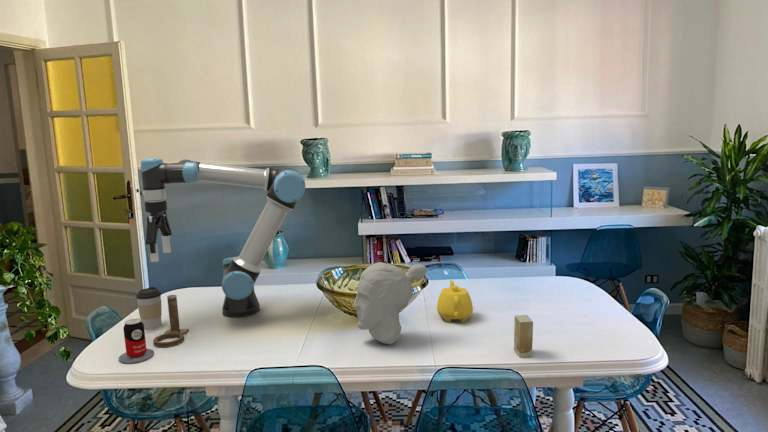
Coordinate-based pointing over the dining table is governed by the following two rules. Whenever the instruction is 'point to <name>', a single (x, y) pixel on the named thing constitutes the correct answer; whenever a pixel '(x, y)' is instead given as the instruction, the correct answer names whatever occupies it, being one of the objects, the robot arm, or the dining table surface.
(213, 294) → the dining table surface
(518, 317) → the skincare box
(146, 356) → the slate coaster
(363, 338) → the dining table surface
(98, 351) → the dining table surface
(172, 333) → the ring holder
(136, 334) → the beverage can
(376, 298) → the bust
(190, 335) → the dining table surface
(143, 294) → the coffee cup
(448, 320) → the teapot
